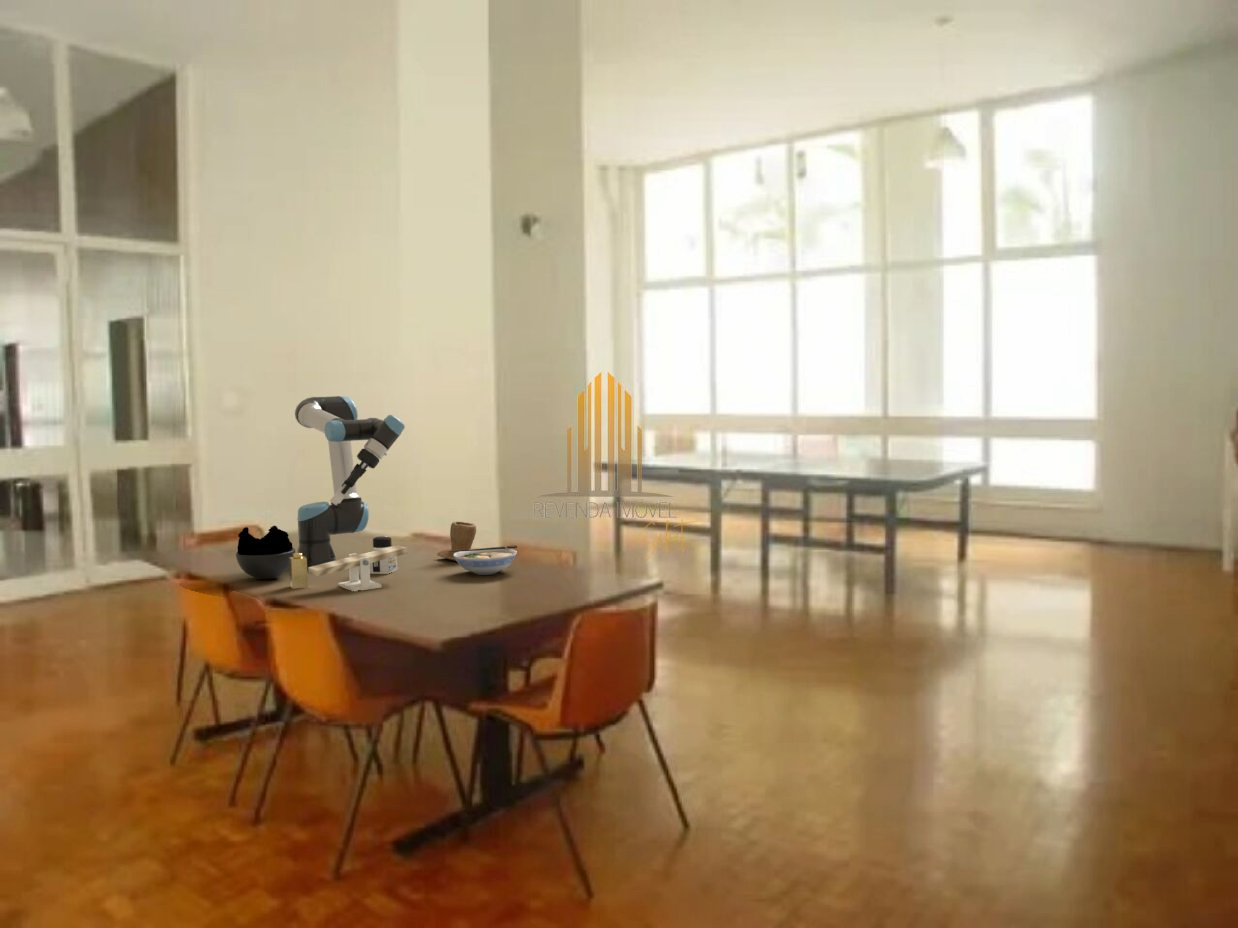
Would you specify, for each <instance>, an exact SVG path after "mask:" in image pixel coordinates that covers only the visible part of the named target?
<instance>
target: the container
mask: <svg viewBox="0 0 1238 928" xmlns="http://www.w3.org/2000/svg"><path fill="white" fill-rule="evenodd" d="M388 547H392V538H391V536H387V535H381V536H376V537H373V538H372V548H373V551H376V550H380V549H384V548H388ZM397 571H398V556H396V557H392V558H388V559H384V560H380V561H377V562H373V563H370V575H375V574H376V575H390V574H392V573H394V572H397ZM391 572H392V573H391ZM389 573H390V574H389Z"/></svg>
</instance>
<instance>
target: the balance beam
mask: <svg viewBox="0 0 1238 928" xmlns="http://www.w3.org/2000/svg"><path fill="white" fill-rule="evenodd" d="M403 555H408V548H407V547H404V546H401V545H398V544H397V545H393V546H392V547H388V548H384V549H380V550H376V551H374V550H372V551H369V552H365V553H361V554H358V555H356V556H352V557H345V558H341V559H336V561H332V562H328V563H324V564H320V565H316V566H312V567H307V570H308V573H309V574H310V575H313V576H315V577H322V576H325V575H330V574H333V573H338V572H342V571H345V570H349V568H353V567H357V566H358V567H360V558H365V557H369V562H370V563H373V562H377V561H380V560H384V559H388V558H392V557H396V556H397V557H399V556H403Z"/></svg>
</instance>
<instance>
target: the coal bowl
mask: <svg viewBox="0 0 1238 928" xmlns="http://www.w3.org/2000/svg"><path fill="white" fill-rule="evenodd" d="M249 531H250V529H249V526H245V527H243V529H242V530H241V531H240V532H239V533H238V535H237V537H238V538H239V539H238V541H237V542H238V543H237V552H235V558H236V560H237V561H236V562H237V564H238V565H239V567H240V568H241V570H242V571H243V572H244V573H245V574H246V575H248V576H249V577H251V578H255V579H256V580H257V579H259V580H272V579H276V578H278V577H280V576H282V575H283V574H284V573H286V572H287V571H288V569H289V570H290V567H289V557H293V553H296V548H294V547H293V543H292V542H291V541H290V538H289V533H288V532H287V531H285V530H282V529H280V528H278V526H277V525H272V526H271V527H270V528H269V529H268V530H267V531H268V532H267V533H266V534H265V535H264V536H263V537H261V538H257V537H254V536H253V535H252V534H251V533H250V532H249Z"/></svg>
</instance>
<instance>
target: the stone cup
mask: <svg viewBox="0 0 1238 928" xmlns="http://www.w3.org/2000/svg"><path fill="white" fill-rule="evenodd" d="M449 533H450V534H449V536H450V537H449V538H450V545H451V548H450V549H444V550H440V551H438V552H436V555H437V556H438V557H440V558H443V559H447V560H451V561H456V560H455V558H454V556H453V555H454V553H456V552H449V551H460V550H469V549H472V545H473V543H474V540H475V538H476V533H477V526H476V524H474V523H472V522H471V523H469V522H464V521H456V520H454V521H453V522H452V523H451V524H450V531H449ZM456 562H457V561H456Z"/></svg>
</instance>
